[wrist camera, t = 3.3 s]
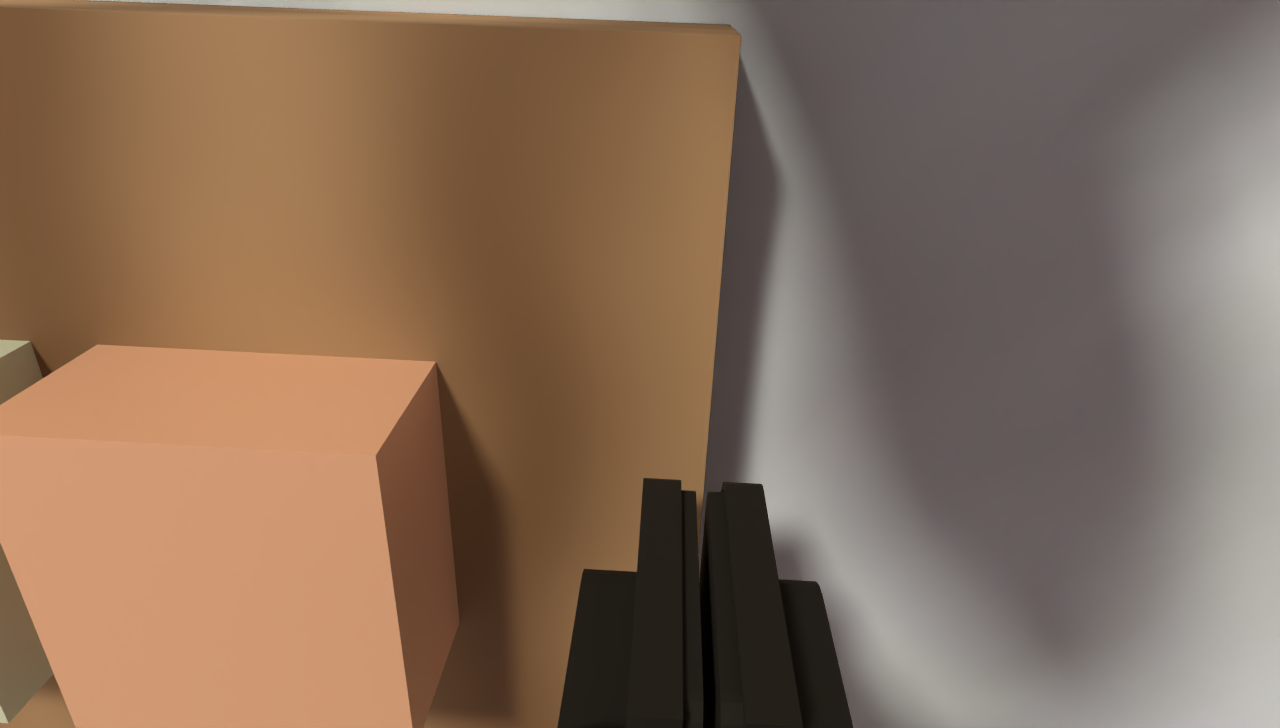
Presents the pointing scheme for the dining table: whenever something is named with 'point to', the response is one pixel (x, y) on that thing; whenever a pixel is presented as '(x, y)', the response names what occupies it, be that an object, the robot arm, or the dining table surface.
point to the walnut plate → (400, 256)
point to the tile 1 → (3, 630)
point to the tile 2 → (233, 537)
